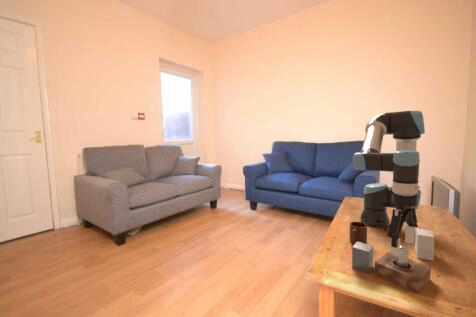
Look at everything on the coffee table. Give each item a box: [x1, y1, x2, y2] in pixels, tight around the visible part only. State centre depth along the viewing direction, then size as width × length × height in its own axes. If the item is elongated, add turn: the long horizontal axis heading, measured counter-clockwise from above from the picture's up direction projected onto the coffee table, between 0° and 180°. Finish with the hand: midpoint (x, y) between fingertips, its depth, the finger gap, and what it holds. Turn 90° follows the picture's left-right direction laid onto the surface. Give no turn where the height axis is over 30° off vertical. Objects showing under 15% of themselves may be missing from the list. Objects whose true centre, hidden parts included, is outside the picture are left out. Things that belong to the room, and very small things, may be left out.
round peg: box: [395, 243, 410, 269], centre depth 86 cm, size 4×4×12 cm
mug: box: [349, 221, 368, 246], centre depth 111 cm, size 12×8×9 cm, turn 139°
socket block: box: [373, 251, 432, 294], centre depth 86 cm, size 14×12×5 cm
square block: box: [351, 242, 374, 275], centre depth 93 cm, size 6×6×9 cm
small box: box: [414, 227, 435, 261], centre depth 100 cm, size 8×6×10 cm
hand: (402, 248), depth 85 cm, fingers open, 13 cm apart
